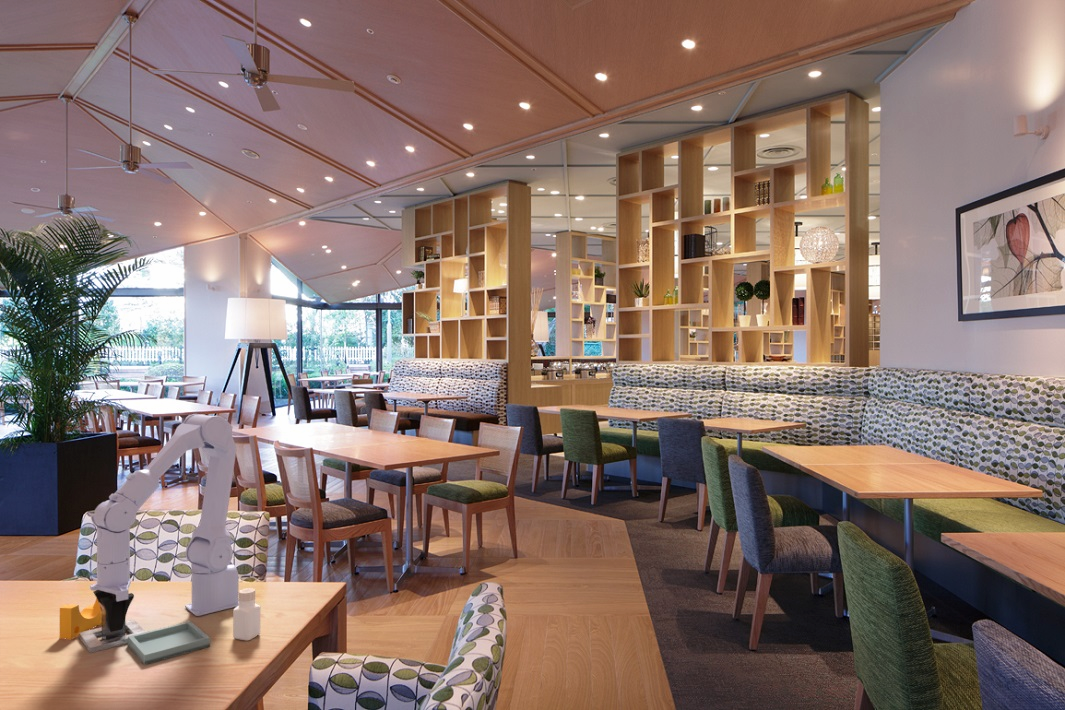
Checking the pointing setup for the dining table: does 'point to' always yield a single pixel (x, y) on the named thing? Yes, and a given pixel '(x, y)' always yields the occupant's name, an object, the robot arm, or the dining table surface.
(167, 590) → the dining table surface
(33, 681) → the dining table surface
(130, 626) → the socket
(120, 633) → the pin
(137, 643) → the tray
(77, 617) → the pipe clamp
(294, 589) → the dining table surface
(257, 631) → the pepper shaker
